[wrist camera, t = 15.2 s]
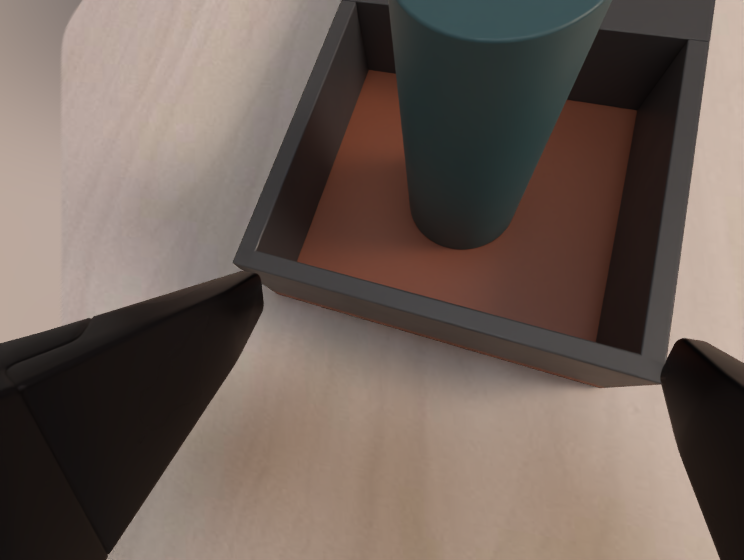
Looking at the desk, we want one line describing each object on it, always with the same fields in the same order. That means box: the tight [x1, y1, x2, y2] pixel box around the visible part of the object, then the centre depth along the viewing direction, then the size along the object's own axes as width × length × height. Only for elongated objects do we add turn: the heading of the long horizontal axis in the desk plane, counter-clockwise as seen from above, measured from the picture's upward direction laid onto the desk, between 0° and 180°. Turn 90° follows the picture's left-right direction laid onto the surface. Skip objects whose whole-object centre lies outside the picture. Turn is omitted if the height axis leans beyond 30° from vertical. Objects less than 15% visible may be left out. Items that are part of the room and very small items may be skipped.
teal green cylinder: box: [388, 0, 612, 249], centre depth 14 cm, size 5×5×12 cm
